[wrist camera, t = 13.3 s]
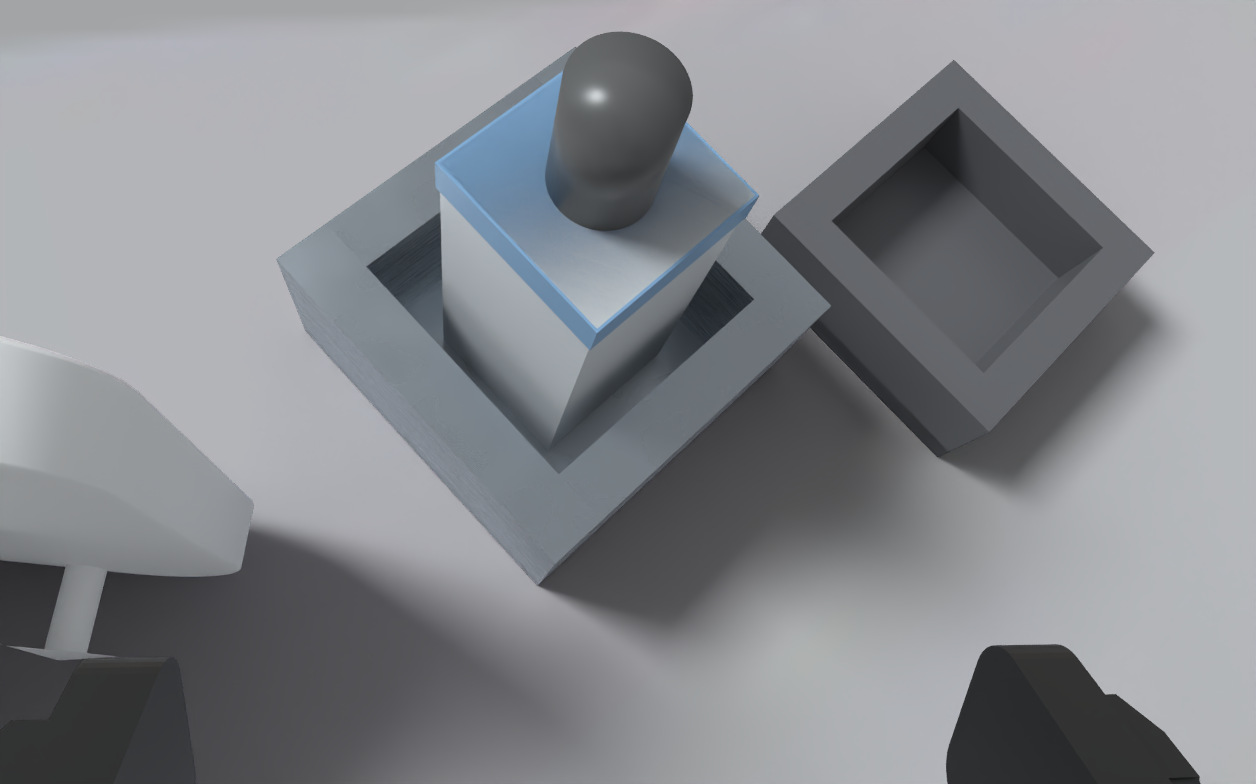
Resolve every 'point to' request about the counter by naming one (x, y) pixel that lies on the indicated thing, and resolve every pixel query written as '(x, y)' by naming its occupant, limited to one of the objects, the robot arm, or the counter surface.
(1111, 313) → the counter surface
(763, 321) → the port
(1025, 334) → the holster
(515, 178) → the plug
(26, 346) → the cable organizer
